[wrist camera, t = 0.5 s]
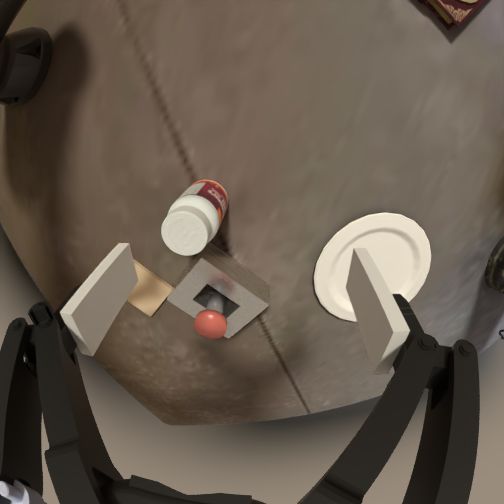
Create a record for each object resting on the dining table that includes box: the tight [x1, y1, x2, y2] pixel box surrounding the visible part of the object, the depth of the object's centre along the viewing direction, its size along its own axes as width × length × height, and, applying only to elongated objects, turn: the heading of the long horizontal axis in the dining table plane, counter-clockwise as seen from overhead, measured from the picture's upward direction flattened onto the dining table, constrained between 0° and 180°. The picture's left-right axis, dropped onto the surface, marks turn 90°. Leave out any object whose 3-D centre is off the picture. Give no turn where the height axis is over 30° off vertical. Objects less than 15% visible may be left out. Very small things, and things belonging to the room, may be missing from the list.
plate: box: [314, 212, 431, 322], centre depth 41 cm, size 21×21×2 cm
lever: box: [194, 292, 227, 339], centre depth 38 cm, size 4×4×6 cm
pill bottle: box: [161, 180, 228, 256], centre depth 33 cm, size 6×6×11 cm
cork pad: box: [127, 259, 172, 317], centre depth 46 cm, size 9×9×1 cm
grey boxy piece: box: [167, 241, 270, 339], centre depth 42 cm, size 12×10×5 cm
